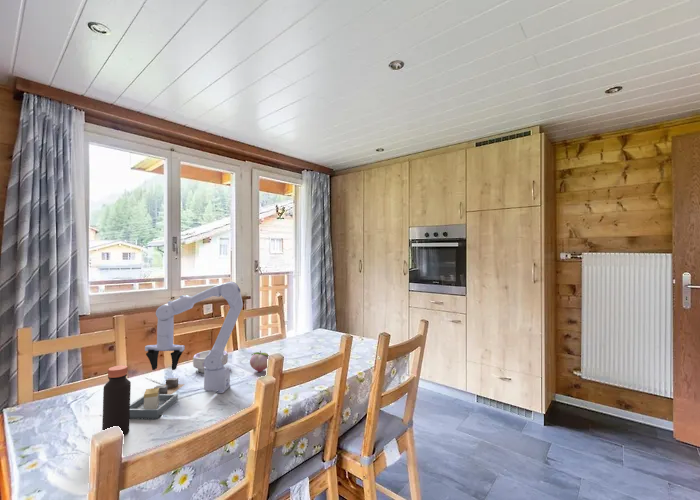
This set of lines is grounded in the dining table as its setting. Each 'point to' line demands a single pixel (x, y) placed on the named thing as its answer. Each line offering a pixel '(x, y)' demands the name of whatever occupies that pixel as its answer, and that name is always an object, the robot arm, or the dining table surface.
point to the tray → (152, 412)
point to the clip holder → (169, 386)
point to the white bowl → (200, 357)
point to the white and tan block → (151, 398)
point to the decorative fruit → (259, 361)
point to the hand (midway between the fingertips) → (164, 369)
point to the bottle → (117, 399)
